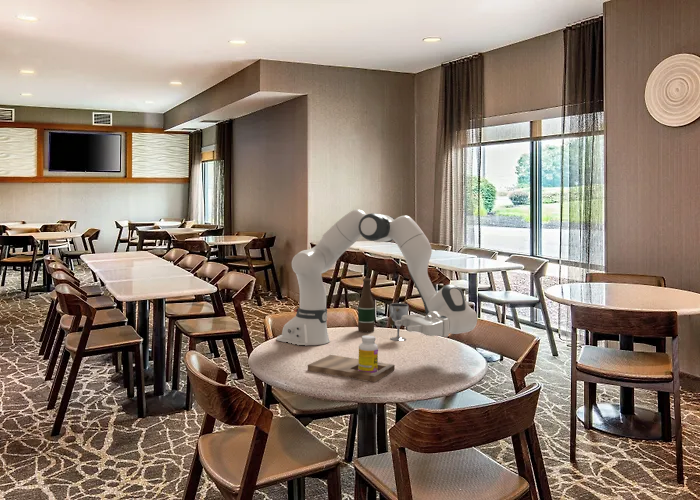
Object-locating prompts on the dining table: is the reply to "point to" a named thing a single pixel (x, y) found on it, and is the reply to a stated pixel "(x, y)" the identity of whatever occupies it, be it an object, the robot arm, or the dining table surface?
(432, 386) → the dining table surface
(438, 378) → the dining table surface
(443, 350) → the dining table surface
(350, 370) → the caddy board
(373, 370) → the supplement bottle
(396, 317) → the wine glass
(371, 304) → the beer bottle
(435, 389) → the dining table surface
